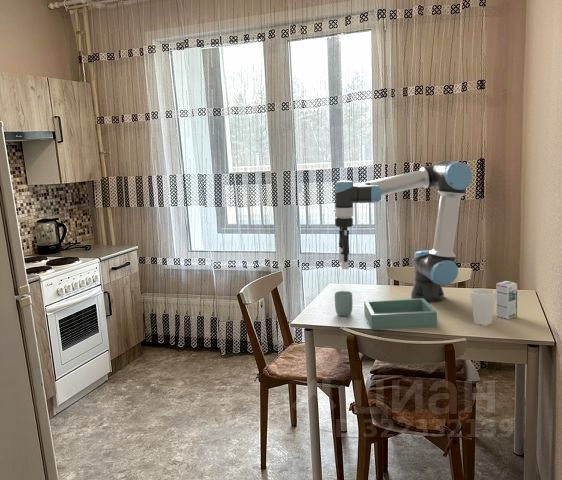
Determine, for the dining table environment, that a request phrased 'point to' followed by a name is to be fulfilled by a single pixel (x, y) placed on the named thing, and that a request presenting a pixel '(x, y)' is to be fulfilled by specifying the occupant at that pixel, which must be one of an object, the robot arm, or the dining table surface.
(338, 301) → the cup
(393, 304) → the tray
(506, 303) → the syrup box
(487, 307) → the foam cup
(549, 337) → the dining table surface
